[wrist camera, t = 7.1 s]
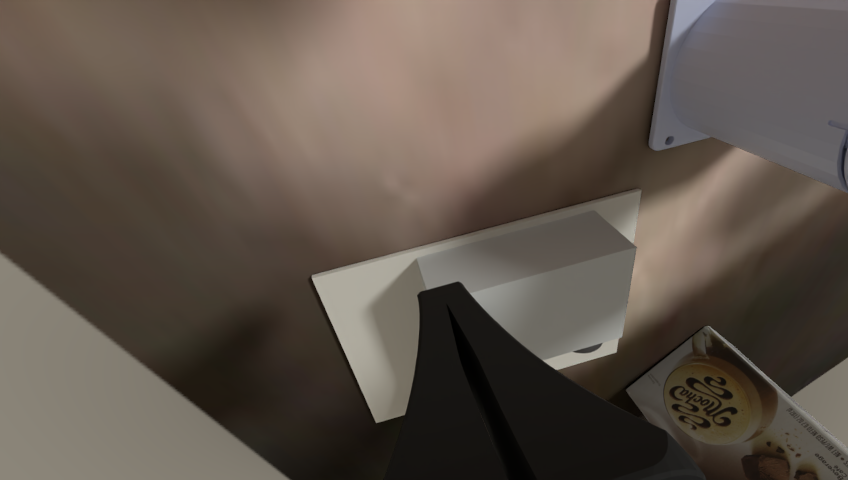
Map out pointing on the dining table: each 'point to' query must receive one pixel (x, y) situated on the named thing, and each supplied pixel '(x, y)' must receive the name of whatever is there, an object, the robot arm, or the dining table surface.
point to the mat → (399, 308)
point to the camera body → (546, 282)
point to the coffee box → (735, 416)
